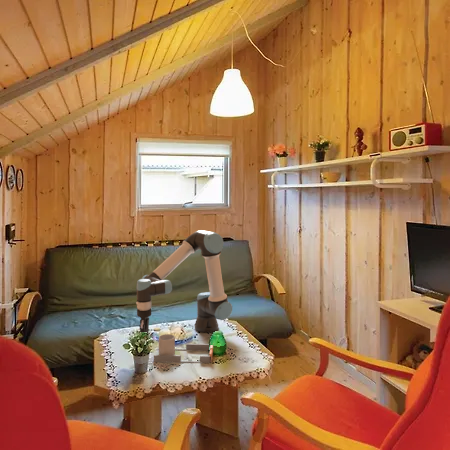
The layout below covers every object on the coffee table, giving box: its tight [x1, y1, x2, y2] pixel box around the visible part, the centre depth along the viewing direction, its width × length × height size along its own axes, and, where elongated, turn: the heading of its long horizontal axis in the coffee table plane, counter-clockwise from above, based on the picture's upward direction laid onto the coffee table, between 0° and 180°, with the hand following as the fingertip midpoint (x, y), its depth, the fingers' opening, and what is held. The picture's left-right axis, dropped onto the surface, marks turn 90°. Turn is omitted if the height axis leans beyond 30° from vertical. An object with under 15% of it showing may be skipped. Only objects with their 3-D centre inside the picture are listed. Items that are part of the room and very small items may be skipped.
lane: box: [153, 343, 214, 364], centre depth 216 cm, size 30×16×5 cm, turn 88°
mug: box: [158, 333, 176, 355], centre depth 216 cm, size 12×8×11 cm
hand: (144, 350), depth 217 cm, fingers closed
